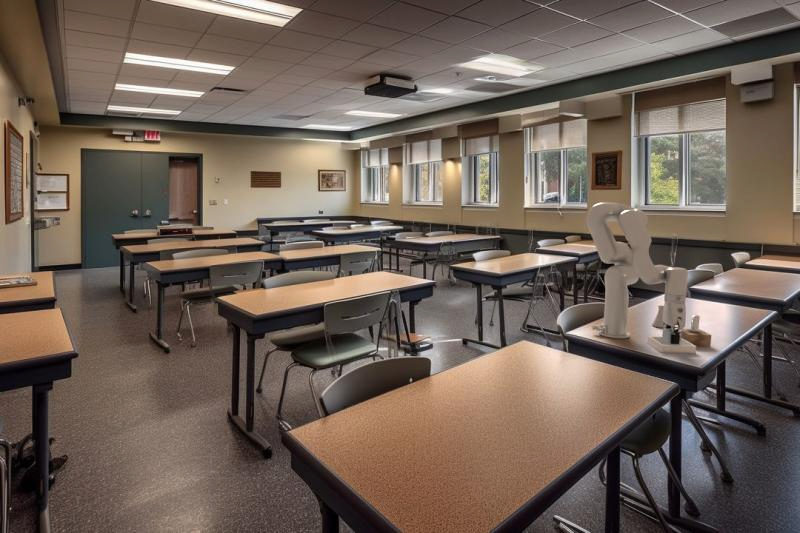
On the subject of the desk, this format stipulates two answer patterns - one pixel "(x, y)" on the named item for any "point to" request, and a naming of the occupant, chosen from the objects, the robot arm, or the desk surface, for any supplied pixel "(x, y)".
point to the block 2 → (697, 338)
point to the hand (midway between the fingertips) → (671, 341)
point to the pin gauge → (695, 324)
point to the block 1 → (668, 337)
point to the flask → (659, 318)
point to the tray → (671, 346)
